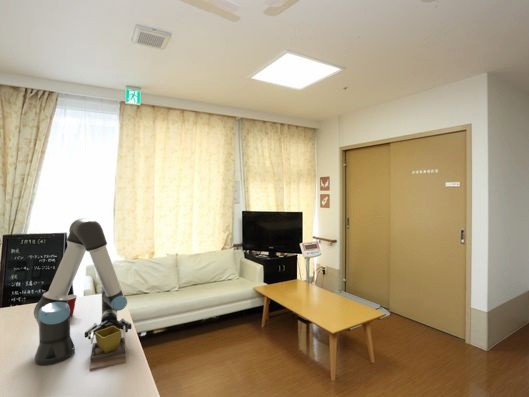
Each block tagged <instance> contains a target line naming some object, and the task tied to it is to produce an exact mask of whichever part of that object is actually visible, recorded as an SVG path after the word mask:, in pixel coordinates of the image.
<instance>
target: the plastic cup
mask: <svg viewBox="0 0 529 397" xmlns="http://www.w3.org/2000/svg"><path fill="white" fill-rule="evenodd" d="M68 297H69V301H68V303H67V304H68V305H69V307H70V318H72V317H73V315H74V311H75V306H76V300H77V297H78V295H77V294H69V295H68Z"/></svg>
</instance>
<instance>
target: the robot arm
mask: <svg viewBox="0 0 529 397" xmlns="http://www.w3.org/2000/svg"><path fill="white" fill-rule="evenodd" d="M68 232H69V233H68V236H67V238H66V243H67V246H66V248H65V251H64V254H63V256H62V259H61V261H60V263H59V265H58V267H57V270H56V272H55V274H54V277H53V279H52V282H51V283H50V286H49V289H48V291H46V292H44V293H43V294H42V296H41V298H40V300H39V301H38V302H37V303H36V304H35V307H34V308H33V309H34V310H33V316H34V319H35V321H36V323H37V324H38V330H39V332H38V333H39V334H38V336H39V337H38V338H39V342H38V343H39V344H38V346H37V349H36V352H35V355H34V363H35V364H36V365H38V366H51V365H55V364H59V363H62V362H64V361H66V360H68V359H70V358H71V357H72V356H74V354H75V352H76V346H75V344H74V341H73V340H72V337H71V317H70V307H69V305H68V304H67V303H68V301H69V297H68V294H69V292H70V289H71V287H72V285H73V282H74V280H75V278H76V275H77V273H78V271H79V268H80V266H81V264H82V261H83V259H84V255H85V253H86V252H88V253H89V254H90V255H89V256H90V257H91V260H92V263H93V265H94V268H95V271H96V273H97V275H98V278H99V281H100V284H101V285H102V286H101V317H100V318H101V319H100V320H101V321H100V323H99V324H97V323H96V322H94V323H93V324H92V325H91V327H89V328H88V329H86V331H84V338H87V339H88V340H90V345H91V344H92V345H93V343H94V336H95V332H97V331H100V330H103V329H105V328H108V327H111V326H115V327H116V328H118V329H120V330H121V331H123V337H125V338H126V333H128V332H129V330H131V329H132V323H131V322H129V321H127V320H125V318H121V319H120V320H118V311H122V310H124V309H125V308H126V307H127V305H128V299H127V298H126V296H125V295H124V293H123V290H122V288H121V286H120V281H119V279H118V276H117V273H116V271H115V268H114V266H113V263H112V260H111V257H110V254H109V252H108V249H107V245H108V242H107V240H106V237H105V232H104V230H103V228H102V225H101V224H100V222H98V221H96V220H93V219H91V218H87V217H85V218H84V217H82V218H79V219H78V218H77V219H76V220H74V221H73V222H72V223H71V225H70V226H69V231H68Z"/></svg>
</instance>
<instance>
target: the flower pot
mask: <svg viewBox="0 0 529 397" xmlns="http://www.w3.org/2000/svg"><path fill="white" fill-rule="evenodd" d="M94 336H95V337H94V338H95V343H97V345H98V347H99V348H100V349H101V350H102V351H103V352H104V353H108V352H110V351H113V350H115V349H117V347H118V345H119V343H120V340H121V338H122V330H121V329H118V328H116V327H115V326H111V327H108V328H105V329H103V330H100V331H97V332H95V335H94Z"/></svg>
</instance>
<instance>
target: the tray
mask: <svg viewBox="0 0 529 397" xmlns="http://www.w3.org/2000/svg"><path fill="white" fill-rule="evenodd" d="M125 338H126V336H125V337H124V336H121V340H120V343H119V345H118V347H117V349H115V350H113V351H110V352H108V353H104V352H103V351H102V350H101V349H100V348H99V347H98V345H97V342H93V344H92V346H91V352H90V362H89V372H90V371H91V372H92V371H96V370H100V369H104V368H108V367H114V366H117V365H121V364H126V363H127V360H126V356H127V355H126V339H125Z"/></svg>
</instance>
